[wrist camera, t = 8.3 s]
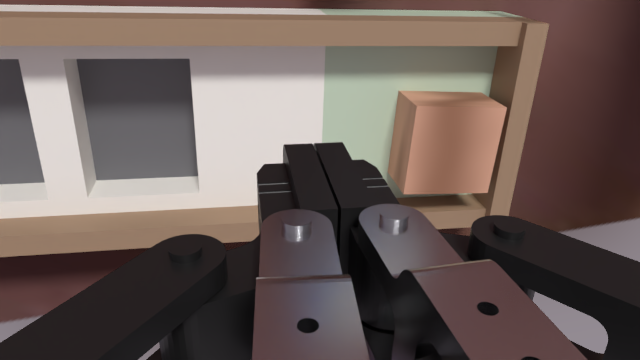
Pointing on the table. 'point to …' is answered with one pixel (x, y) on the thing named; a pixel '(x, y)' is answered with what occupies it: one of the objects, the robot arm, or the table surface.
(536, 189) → the table surface
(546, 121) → the table surface
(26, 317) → the table surface
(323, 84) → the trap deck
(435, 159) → the block
